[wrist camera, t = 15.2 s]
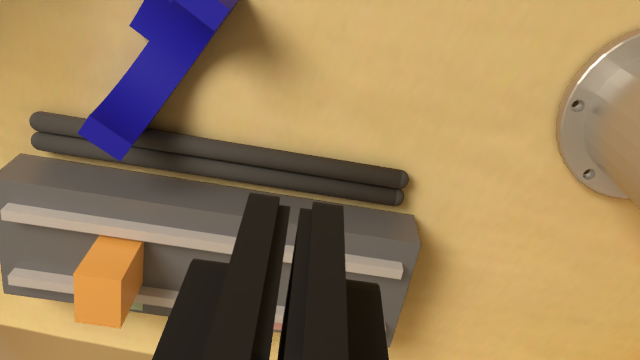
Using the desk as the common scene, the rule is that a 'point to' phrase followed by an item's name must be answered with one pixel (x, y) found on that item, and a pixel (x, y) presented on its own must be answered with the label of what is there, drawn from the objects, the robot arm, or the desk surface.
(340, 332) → the robot arm
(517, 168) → the desk surface
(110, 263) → the block
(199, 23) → the cable clip
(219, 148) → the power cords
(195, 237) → the grey railed slider base
